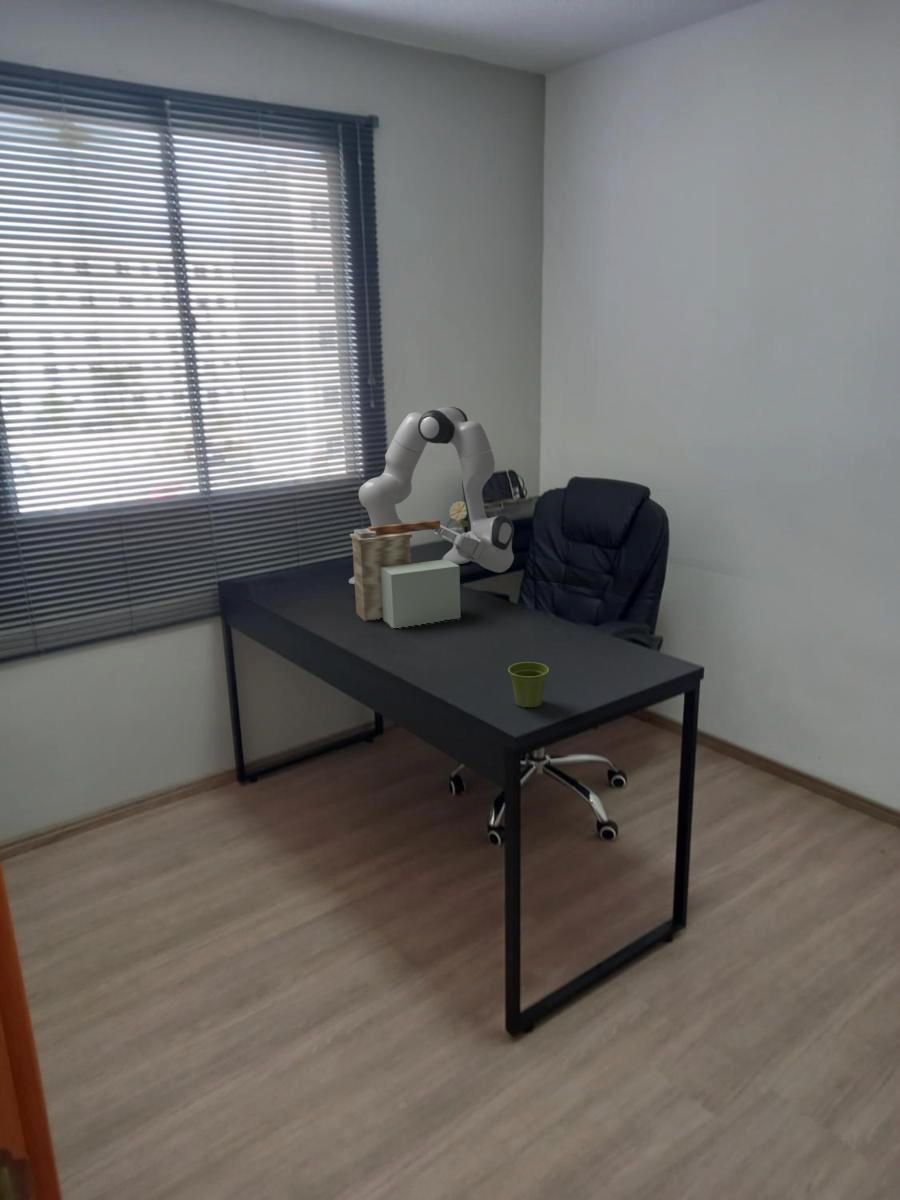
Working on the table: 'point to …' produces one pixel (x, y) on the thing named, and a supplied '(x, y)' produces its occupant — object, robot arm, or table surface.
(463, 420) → the robot arm
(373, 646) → the table surface
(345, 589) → the table surface
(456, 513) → the flower in vase
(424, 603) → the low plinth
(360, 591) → the tall stand
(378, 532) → the scraper
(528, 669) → the plant pot
